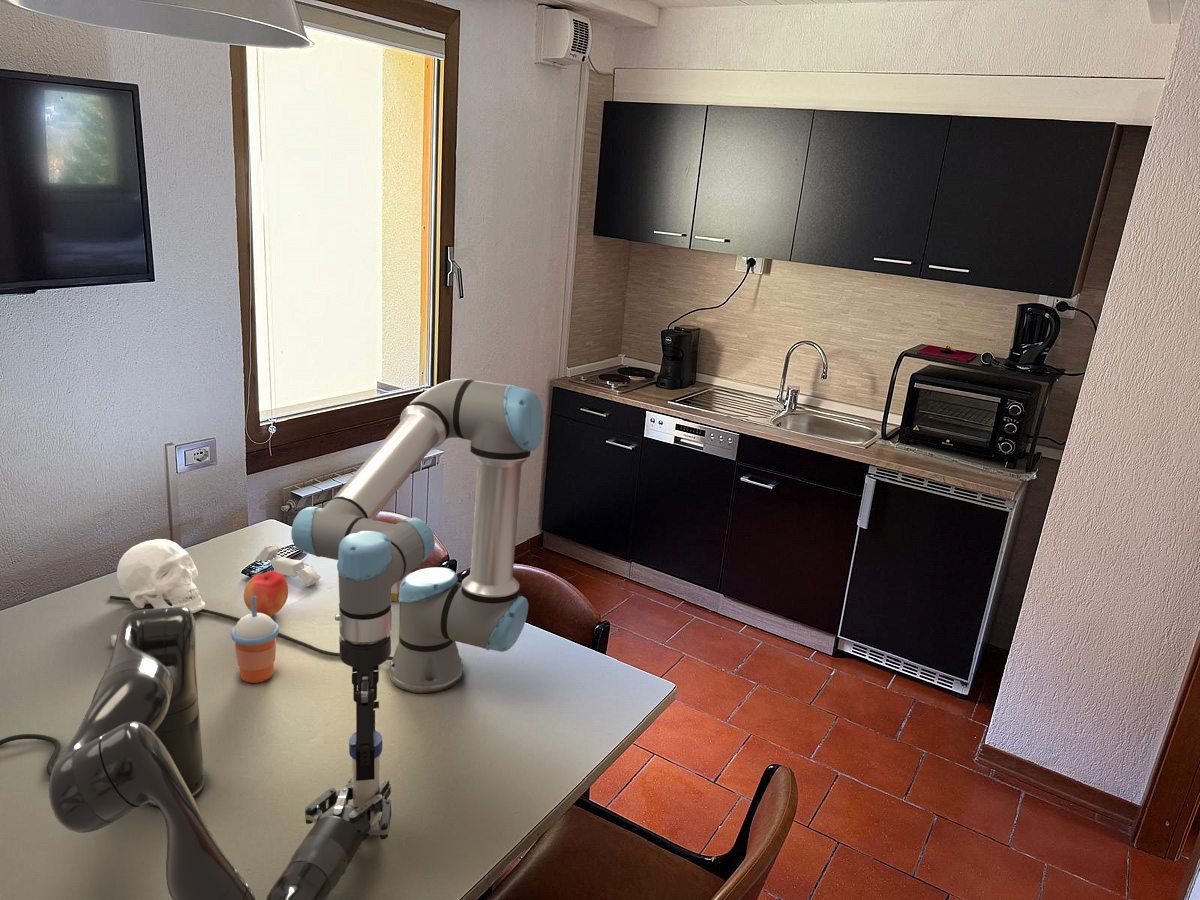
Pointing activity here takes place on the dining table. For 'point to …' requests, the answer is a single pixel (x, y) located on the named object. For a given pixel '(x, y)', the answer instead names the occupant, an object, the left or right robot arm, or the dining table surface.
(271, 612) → the apple
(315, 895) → the left robot arm
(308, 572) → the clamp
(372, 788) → the white cylindrical bottle
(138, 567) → the skull
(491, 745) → the dining table surface
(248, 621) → the cup with straw
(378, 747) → the lid
